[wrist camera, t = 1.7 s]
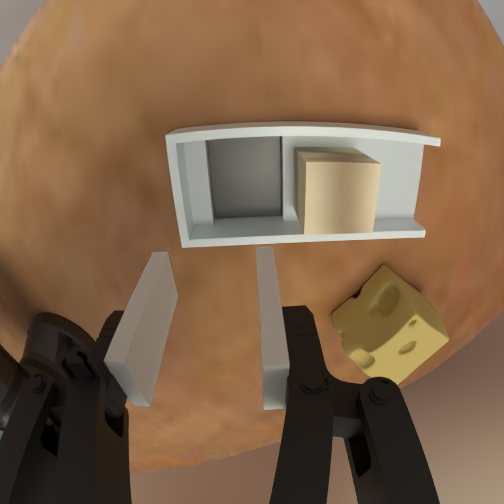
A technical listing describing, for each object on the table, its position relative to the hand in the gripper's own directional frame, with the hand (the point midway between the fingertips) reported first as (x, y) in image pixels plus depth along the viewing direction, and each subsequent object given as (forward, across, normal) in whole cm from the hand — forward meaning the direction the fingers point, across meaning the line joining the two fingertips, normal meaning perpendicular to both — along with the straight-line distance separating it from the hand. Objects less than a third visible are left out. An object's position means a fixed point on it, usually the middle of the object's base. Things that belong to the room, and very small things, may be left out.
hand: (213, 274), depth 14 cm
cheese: (+17, +19, -18) cm, 31 cm away
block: (+15, +9, 0) cm, 18 cm away
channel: (+17, +8, 0) cm, 18 cm away
